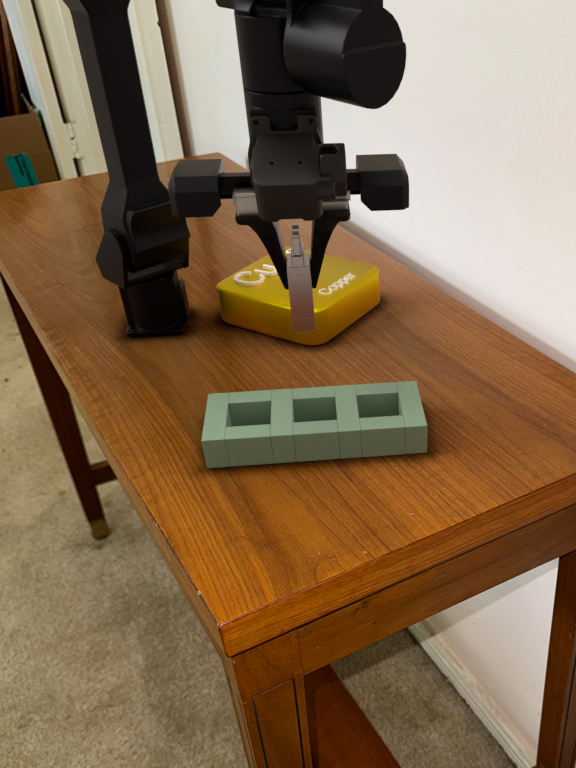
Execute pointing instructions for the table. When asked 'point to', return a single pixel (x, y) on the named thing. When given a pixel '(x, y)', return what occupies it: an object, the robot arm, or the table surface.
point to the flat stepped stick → (300, 285)
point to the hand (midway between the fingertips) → (300, 287)
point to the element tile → (272, 302)
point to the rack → (313, 424)
